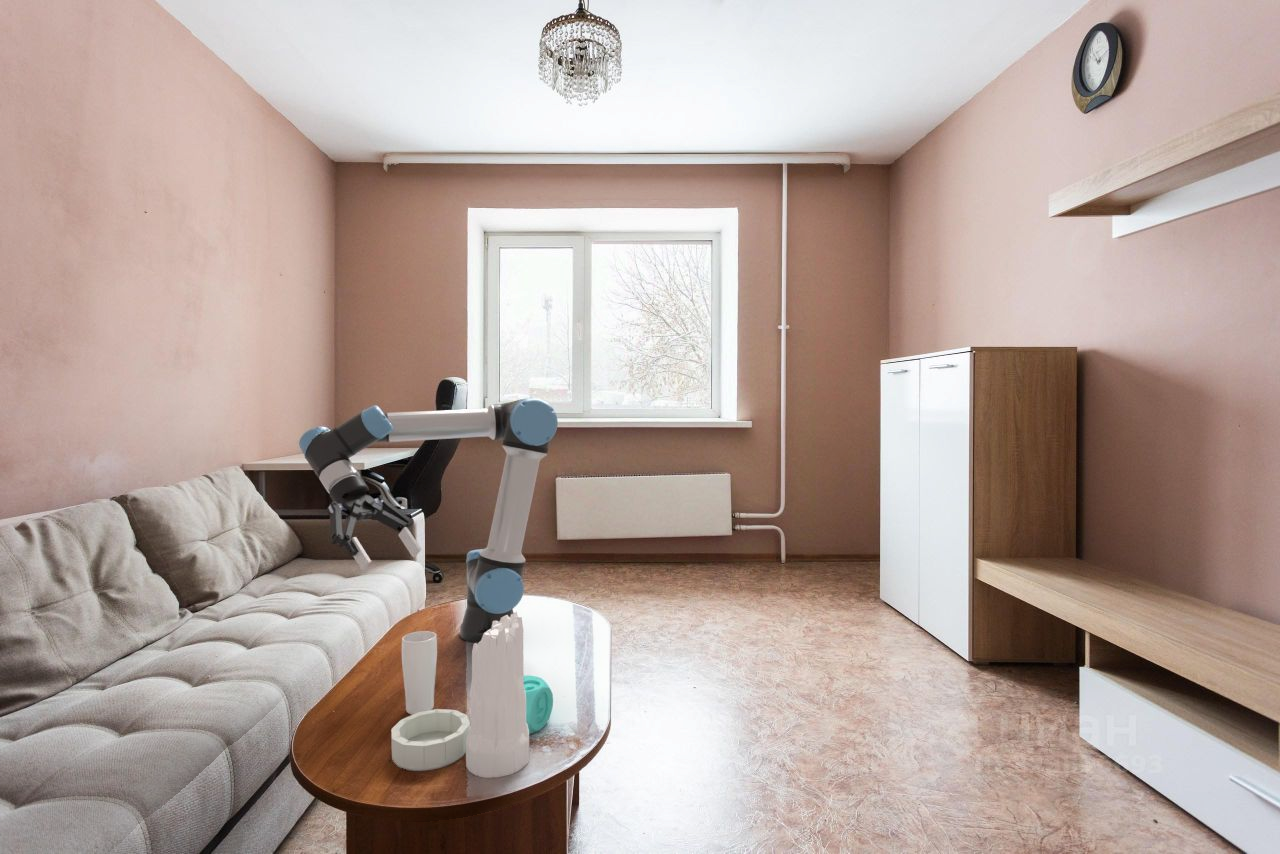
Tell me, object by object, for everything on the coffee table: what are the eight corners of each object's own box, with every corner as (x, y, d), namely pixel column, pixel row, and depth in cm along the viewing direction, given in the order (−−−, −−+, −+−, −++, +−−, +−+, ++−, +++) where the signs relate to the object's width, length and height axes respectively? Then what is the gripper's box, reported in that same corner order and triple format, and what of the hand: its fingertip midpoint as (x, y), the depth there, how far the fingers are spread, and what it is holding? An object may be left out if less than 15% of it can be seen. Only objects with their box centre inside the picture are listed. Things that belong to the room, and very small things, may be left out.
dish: (439, 725, 121) (439, 703, 121) (484, 746, 113) (484, 722, 113) (376, 754, 111) (376, 730, 111) (421, 780, 103) (421, 753, 103)
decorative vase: (470, 783, 102) (470, 630, 101) (461, 751, 112) (460, 611, 111) (536, 768, 106) (536, 621, 106) (522, 739, 116) (521, 603, 116)
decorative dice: (520, 711, 127) (519, 672, 127) (553, 720, 123) (553, 679, 123) (494, 729, 120) (494, 687, 119) (529, 739, 116) (529, 695, 116)
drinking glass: (395, 710, 127) (395, 636, 127) (427, 699, 132) (426, 628, 132) (412, 721, 123) (411, 644, 122) (443, 709, 128) (443, 636, 127)
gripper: (381, 490, 154) (427, 558, 148) (284, 502, 132) (333, 583, 125) (397, 470, 152) (444, 538, 145) (301, 478, 129) (352, 559, 123)
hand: (393, 559), depth 135 cm, fingers open, 13 cm apart
